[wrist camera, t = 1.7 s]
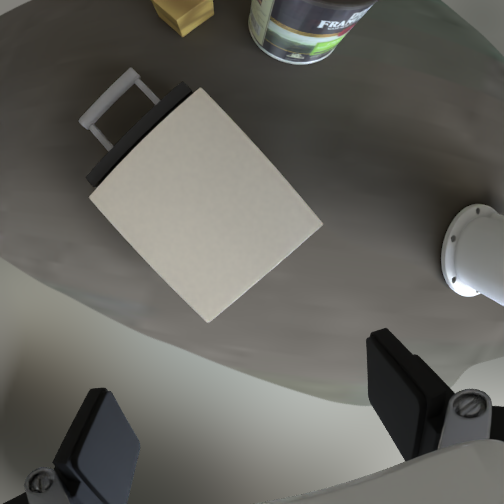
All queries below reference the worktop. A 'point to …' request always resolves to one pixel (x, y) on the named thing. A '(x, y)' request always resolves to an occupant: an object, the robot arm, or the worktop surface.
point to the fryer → (204, 206)
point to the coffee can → (303, 26)
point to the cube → (184, 13)
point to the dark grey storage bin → (138, 130)
